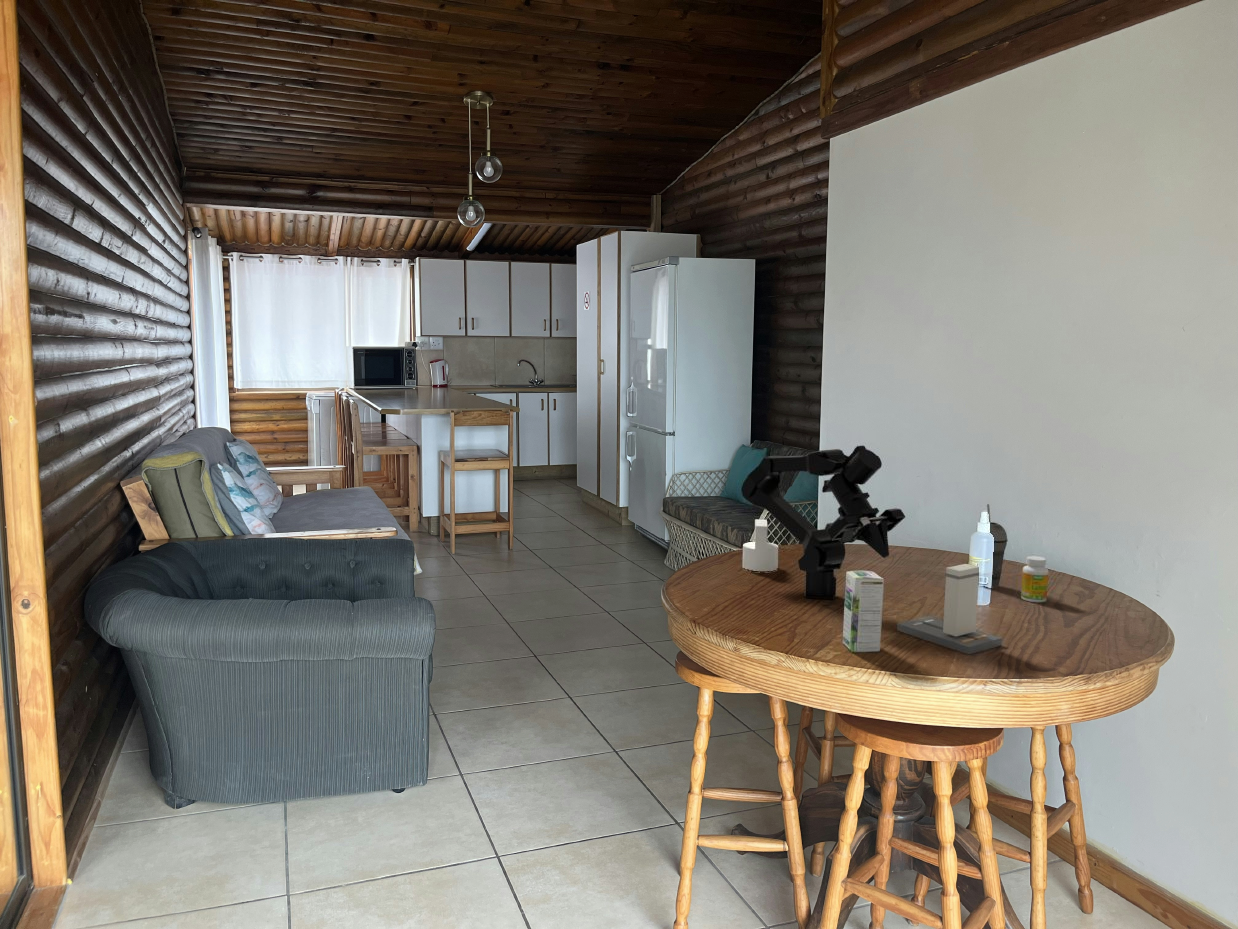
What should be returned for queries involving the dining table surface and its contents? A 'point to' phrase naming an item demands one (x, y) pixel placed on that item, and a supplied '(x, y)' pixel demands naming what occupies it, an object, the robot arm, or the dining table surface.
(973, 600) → the fader knob
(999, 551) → the beverage cup
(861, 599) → the syrup box
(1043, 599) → the supplement bottle
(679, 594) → the dining table surface
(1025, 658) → the dining table surface
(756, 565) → the base with upright slab
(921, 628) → the fader console
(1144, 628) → the dining table surface
